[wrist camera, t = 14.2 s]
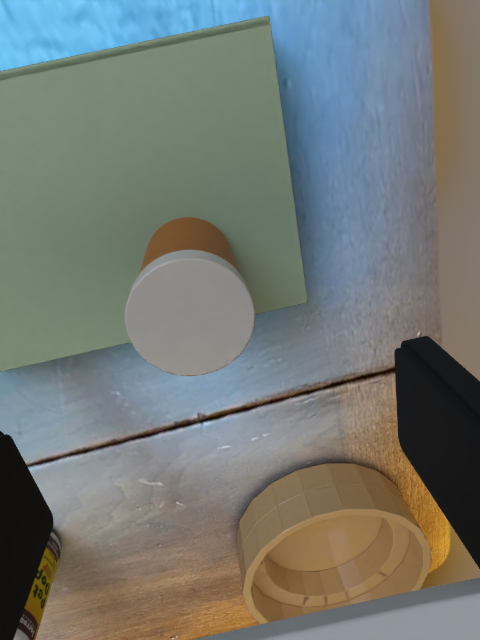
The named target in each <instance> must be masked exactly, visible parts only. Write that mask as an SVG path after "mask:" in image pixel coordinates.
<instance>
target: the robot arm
mask: <svg viewBox="0 0 480 640" xmlns="http://www.w3.org/2000/svg"><path fill="white" fill-rule="evenodd" d="M395 376H396V398H397V420H398V438H399V442H400V445H401V448H402V450H403V452H404V453H405V455H406V457H407V458H408V460H409V461H410V463H411V464H412V466H413V467H414V469H415V470H416V472H417V473H418V475H419V476H420V478H421V480H422V481H423V483H424V484H425V486H426V487H427V489H428V490H429V492H430V493H431V495H432V496H433V498H434V500H435V501H436V503H437V504H438V506H439V507H440V509H441V510H442V512H443V513H444V515H445V516H446V518H447V519H448V521H449V523H450V524H451V526H452V527H453V529H454V530H455V532H456V533H457V535H458V536H459V538H460V539H461V541H462V542H463V544H464V545H465V547H466V549H467V550H468V552H469V553H470V555H471V556H472V558H473V559H474V561H475V563H476V564H477V565H478V567H479V569H480V381H478V380H477V379H476V378H475V377H474V376H473V375H472V374H471V373H469V372H468V371H467V370H466V369H465V368H463V366H462V365H460V364H459V363H458V362H457V361H456V360H455V359H454V358H452V357H451V356H450V355H449V354H448V353H447V352H446V351H445V350H443V349H442V348H441V347H440V346H439V345H438V344H437V343H435V342H434V341H433V340H432V339H431V338H430V337H428V336H424V337H419V338H415V339H410V340H406V341H403V342H402V343H401V348H397V349H396V350H395ZM52 529H53V516H52V513H51V511H50V509H49V507H48V505H47V503H46V501H45V500H44V498H43V496H42V494H41V492H40V490H39V488H38V486H37V484H36V483H35V481H34V479H33V477H32V475H31V473H30V471H29V469H28V467H27V466H26V464H25V462H24V460H23V458H22V456H21V454H20V452H19V450H18V449H17V447H16V445H15V443H14V441H13V439H12V438H11V436H9V435H4V434H3V433H2V432H1V431H0V640H13V639H14V637H15V634H16V631H17V628H18V625H19V622H20V620H21V617H22V614H23V611H24V608H25V606H26V603H27V600H28V597H29V594H30V591H31V589H32V586H33V583H34V580H35V577H36V574H37V572H38V569H39V566H40V563H41V560H42V558H43V555H44V552H45V549H46V546H47V543H48V541H49V538H50V535H51V532H52ZM194 640H480V578H476V579H471V580H466V581H461V582H456V583H451V584H446V585H441V586H436V587H431V588H426V589H421V590H416V591H411V592H406V593H401V594H397V595H392V596H388V597H383V598H379V599H374V600H370V601H365V602H360V603H356V604H351V605H347V606H342V607H338V608H333V609H329V610H324V611H319V612H315V613H310V614H306V615H301V616H297V617H292V618H288V619H283V620H278V621H274V622H269V623H265V624H261V625H256V626H252V627H247V628H243V629H238V630H234V631H229V632H225V633H220V634H216V635H212V636H207V637H203V638H198V639H194Z"/></svg>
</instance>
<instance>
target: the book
mask: <svg viewBox="0 0 480 640" xmlns="http://www.w3.org/2000/svg"><path fill="white" fill-rule="evenodd" d="M184 217H193V218H199V219H202V220H205V221H207V222H209V223H211V224H213V225H214V226H215V227H217V228H218V229H219V230H220V231H221V232H222V233H223V235H224V236H225V237H226V239H227V241H228V243H229V245H230V248H231V251H232V253H233V256H234V259H235V261H236V264H237V267H238V270H239V272H240V274H241V276H242V277H243V279H244V281H245V282H246V285H247V287H248V289H249V292H250V294H251V297H252V300H253V304H254V309H255V314H259V313H264V312H268V311H272V310H277V309H281V308H286V307H290V306H295V305H299V304H304V303H308V300H307V292H306V285H305V278H304V270H303V263H302V255H301V248H300V240H299V233H298V225H297V218H296V210H295V203H294V196H293V188H292V181H291V173H290V166H289V158H288V151H287V143H286V136H285V128H284V121H283V114H282V106H281V99H280V91H279V84H278V76H277V69H276V61H275V54H274V47H273V39H272V32H271V24H270V17H269V16H264V17H259V18H255V19H250V20H245V21H240V22H235V23H230V24H226V25H221V26H216V27H211V28H206V29H201V30H197V31H192V32H187V33H182V34H177V35H173V36H168V37H163V38H158V39H153V40H148V41H144V42H139V43H134V44H129V45H124V46H119V47H115V48H110V49H105V50H100V51H95V52H91V53H86V54H81V55H76V56H71V57H66V58H62V59H57V60H52V61H47V62H42V63H37V64H33V65H28V66H23V67H18V68H13V69H9V70H4V71H0V372H1V371H5V370H10V369H14V368H19V367H23V366H28V365H32V364H37V363H41V362H46V361H50V360H54V359H59V358H63V357H68V356H72V355H77V354H81V353H86V352H90V351H94V350H99V349H103V348H108V347H112V346H117V345H121V344H126V343H130V342H131V341H130V339H129V336H128V333H127V330H126V325H125V309H126V304H127V300H128V297H129V294H130V292H131V289H132V286H133V284H134V282H135V280H136V278H137V277H138V275H139V272H140V269H141V266H142V262H143V259H144V256H145V253H146V250H147V247H148V244H149V241H150V240H151V238H152V236H153V235H154V233H155V232H156V231H157V230H158V229H159V228H160V227H161V226H163V225H164V224H166V223H167V222H169V221H172V220H174V219H178V218H184Z"/></svg>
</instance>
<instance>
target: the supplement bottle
mask: <svg viewBox="0 0 480 640" xmlns="http://www.w3.org/2000/svg"><path fill="white" fill-rule="evenodd" d="M60 554H61V546H60V542H59V540H58V538H57V537H56V535H55V534H54V533H53V532H51V535H50V538H49V541H48V543H47V546H46V549H45V552H44V555H43V558H42V560H41V563H40V566H39V569H38V572H37V574H36V577H35V580H34V583H33V586H32V589H31V591H30V594H29V597H28V600H27V603H26V606H25V608H24V611H23V614H22V617H21V620H20V622H19V625H18V628H17V631H16V634H15V637H14V639H13V640H35V639H36V636H37V632H38V629H39V626H40V622H41V619H42V616H43V612H44V609H45V606H46V602H47V599H48V596H49V592H50V589H51V585H52V582H53V579H54V575H55V572H56V569H57V565H58V562H59V558H60Z"/></svg>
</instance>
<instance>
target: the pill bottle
mask: <svg viewBox="0 0 480 640" xmlns="http://www.w3.org/2000/svg"><path fill="white" fill-rule="evenodd" d="M254 324H255V309H254V304H253V300H252V297H251V294H250V292H249V289H248V287H247V285H246V282H245V281H244V279H243V277H242V276H241V274H240V272H239V270H238V267H237V264H236V261H235V259H234V256H233V253H232V251H231V248H230V245H229V243H228V241H227V239H226V237H225V236H224V235H223V233H222V232H221V231H220V230H219V229H218V228H217V227H215V226H214V225H213V224H211V223H209V222H207V221H205V220H202V219H199V218H193V217H184V218H178V219H174V220H172V221H169V222H167V223H166V224H164V225H163V226H161V227H160V228H159V229H158V230H157V231H156V232H155V233H154V235H153V236H152V238H151V240H150V241H149V244H148V247H147V250H146V253H145V256H144V259H143V262H142V266H141V269H140V272H139V275H138V277H137V278H136V280H135V282H134V284H133V286H132V289H131V292H130V294H129V297H128V300H127V304H126V309H125V325H126V330H127V333H128V336H129V339H130V341H131V343H132V344H133V346H134V348H135V349H136V350H137V352H138V353H139V354H140V355H141V356H142V357H143V358H144V359H145V360H146V361H147V362H149V363H150V364H151V365H153V366H155V367H156V368H158V369H160V370H163V371H165V372H168V373H171V374H175V375H181V376H198V375H204V374H208V373H212V372H214V371H217V370H219V369H221V368H223V367H225V366H227V365H228V364H230V363H231V362H232V361H234V360H235V359H236V358H237V357H238V356H239V355H240V354H241V352H242V351H243V350H244V349H245V347H246V346H247V344H248V342H249V340H250V338H251V336H252V333H253V329H254Z"/></svg>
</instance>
